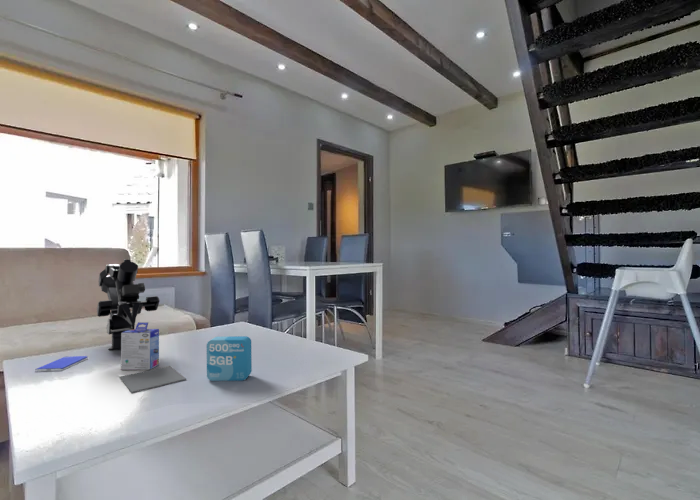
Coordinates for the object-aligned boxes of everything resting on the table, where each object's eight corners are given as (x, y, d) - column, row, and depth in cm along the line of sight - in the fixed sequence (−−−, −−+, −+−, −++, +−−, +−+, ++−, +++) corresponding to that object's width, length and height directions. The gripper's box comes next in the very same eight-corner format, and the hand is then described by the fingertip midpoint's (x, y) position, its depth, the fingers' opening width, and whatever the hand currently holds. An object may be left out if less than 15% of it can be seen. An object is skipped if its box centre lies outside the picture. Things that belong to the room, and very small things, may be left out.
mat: (119, 377, 106) (119, 376, 106) (169, 366, 115) (169, 365, 115) (131, 393, 94) (131, 391, 94) (186, 379, 103) (186, 378, 103)
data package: (206, 381, 102) (206, 340, 102) (212, 375, 107) (212, 336, 107) (247, 380, 102) (247, 339, 102) (251, 375, 107) (251, 336, 107)
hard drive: (63, 356, 124) (34, 368, 112) (87, 355, 125) (61, 367, 113) (63, 361, 124) (34, 373, 112) (87, 360, 125) (62, 372, 113)
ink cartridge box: (160, 364, 118) (160, 321, 118) (150, 370, 112) (150, 325, 112) (131, 364, 118) (130, 321, 118) (120, 370, 112) (119, 325, 112)
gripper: (97, 277, 120) (103, 313, 112) (157, 274, 133) (166, 307, 125) (94, 298, 126) (99, 334, 118) (152, 293, 139) (160, 325, 131)
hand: (133, 324), depth 123 cm, fingers closed
